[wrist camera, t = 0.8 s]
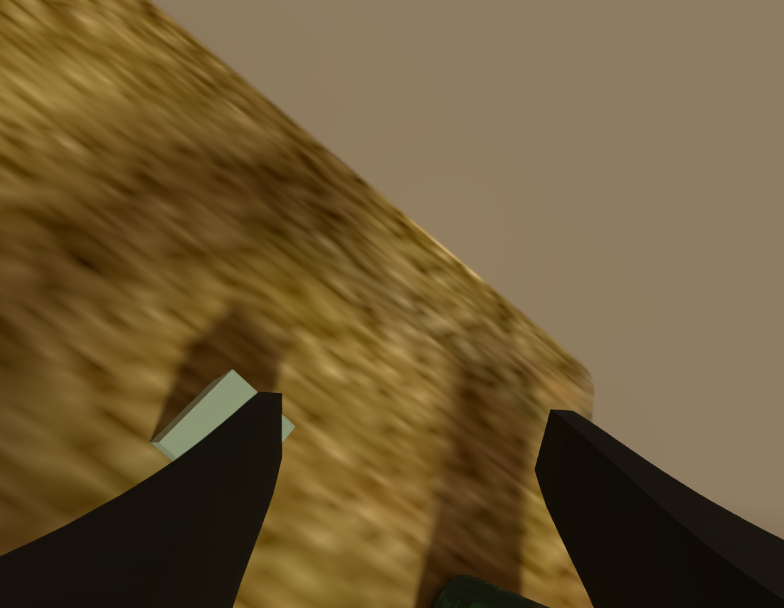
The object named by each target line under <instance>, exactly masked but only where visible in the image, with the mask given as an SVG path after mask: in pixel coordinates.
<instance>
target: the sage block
mask: <svg viewBox="0 0 784 608" xmlns="http://www.w3.org/2000/svg"><path fill="white" fill-rule="evenodd" d="M256 393H258V392H257V391H256V390H255V389H254V388H253V387H252V386H250V385H249V384H248V383H247V382H246V381H245V380H244V379H243V378H242V377H241V376H240V375H238V374H237V373H236V372H235V371H234V370H233V369H232V370H230V371H229V372H227V373H225V374H224V375H222V376H220V377H219V378H217V379H215V380H214V381H212V382H211V383H210V384H209V385H208V386H207V387H206V388H205V389H204V390H203V391H202V392H201V393H200V394H199V395H198V396H197V397H196V398H195V399H194V400H193V401H192V402H190V403H189V404H188V405H187V406H186V407H185V408H184V409H183V410H182V411H181V412H180V413H179V414H178V415H177V416H176V417H175V418H174V419H173V420H172V421H171V422H170V423H169V424H168V425H167V426H166V427H165V428H164V429H163V430H162V431H161V432H160V433H159V434H158V435H157V436H156V437H155V438H154V439H153V440H152V441H151V442H150V443H151V444H152V445H154V446H155V447H156V448H157V449H158V450H160V451H161V452H162V453H163V454H165V455H166V456H167V457H168V458H169V459H171V460H172V461H174V460H175V459H177V458H178V457H179V456H181V455H182V454H183V453H185V452H186V451H187V450H189V449H190V448H191V447H193V446H194V445H195V444H197V443H198V442H199V441H201V440H202V439H203V438H204V437H206V436H207V435H208V434H209V433H210V432H212V431H213V430H214V429H215V428H216V427H218V426H219V425H220V424H221V423H223V422H224V421H225V420H226V419H227V418H228V417H230V416H231V415H232V414H233V413H234V412H235V411H236V410H238V409H239V408H240V407H241V406H242V405H243V404H244V403H246V402H247V401H248V400H249V399H250V398H252V397H253V396H254V395H255V394H256ZM294 427H295V426H294V425H293V424H292V423H291V422H290V421H289V420H288V419H286V418H285V417H284V416H283V415H282V442H283V441H284V440H285V439H286V437H287V436H288V435H289V434H290V432H291V431H292V430H293V429H294Z"/></svg>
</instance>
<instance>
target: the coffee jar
mask: <svg viewBox="0 0 784 608" xmlns="http://www.w3.org/2000/svg"><path fill="white" fill-rule="evenodd" d="M431 608H549V607H547V606H544V605H542V604H539V603H537V602H535V601H532V600H530V599H528V598H525V597H523V596H520V595H518V594H516V593H513V592H511V591H508V590H506V589H504V588H501V587H499V586H497V585H494V584H492V583H489V582H487V581H484V580H482V579H479V578H477V577H474V576H471V575H460V576H457V577H455V578H453V579H452V580H450V581H449V582H448V583H447V584H446V585H445V586H444V587H443V589H442V590H441V592H440V593H439V595H438V596H437V598H436V599H435V601H434V603H433V605H432V607H431Z"/></svg>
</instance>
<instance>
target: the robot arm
mask: <svg viewBox="0 0 784 608" xmlns="http://www.w3.org/2000/svg"><path fill="white" fill-rule="evenodd" d="M281 460H282V393H269V392H258V393H256V394H255V395H254V396H253V397H252V398H250V399H249V400H248V401H247V402H246V403H244V404H243V405H242V406H241V407H240V408H239V409H238V410H236V411H235V412H234V413H233V414H232V415H231V416H230V417H228V418H227V419H226V420H225V421H224V422H223V423H221V424H220V425H219V426H218V427H216V428H215V429H214V430H213V431H212V432H210V433H209V434H208V435H207V436H206V437H204V438H203V439H202V440H201V441H199V442H198V443H197V444H195V445H194V446H193V447H191V448H190V449H189V450H187V451H186V452H185V453H183V454H182V455H181V456H179V457H178V458H177V459H175V460H174V461H173V462H171V463H170V464H168V465H167V466H166V467H164V468H163V469H161V470H160V471H158V472H157V473H155V474H154V475H152V476H151V477H149V478H147V479H146V480H144V481H143V482H141V483H139V484H138V485H136V486H135V487H133V488H131V489H130V490H128V491H127V492H125V493H123V494H122V495H120V496H118V497H116V498H115V499H113V500H111V501H109V502H107V503H105V504H104V505H102V506H100V507H98V508H96V509H95V510H93V511H91V512H89V513H87V514H85V515H84V516H82V517H80V518H78V519H76V520H75V521H73V522H71V523H69V524H67V525H65V526H63V527H61V528H59V529H57V530H55V531H53V532H51V533H49V534H47V535H45V536H43V537H41V538H39V539H37V540H35V541H33V542H30V543H28V544H26V545H24V546H22V547H20V548H17V549H15V550H13V551H11V552H9V553H7V554H5V555H2V556H0V608H233V605H234V602H235V599H236V596H237V593H238V590H239V587H240V584H241V581H242V578H243V575H244V573H245V570H246V567H247V564H248V562H249V559H250V556H251V554H252V551H253V548H254V545H255V543H256V540H257V537H258V535H259V532H260V529H261V527H262V524H263V521H264V518H265V516H266V513H267V510H268V507H269V504H270V502H271V499H272V496H273V493H274V489H275V485H276V481H277V477H278V472H279V468H280V464H281ZM535 473H536V476H537V479H538V483H539V486H540V489H541V492H542V495H543V498H544V501H545V504H546V507H547V509H548V511H549V513H550V515H551V518H552V520H553V522H554V524H555V526H556V528H557V530H558V533H559V535H560V537H561V539H562V541H563V543H564V545H565V547H566V549H567V552H568V554H569V556H570V558H571V560H572V562H573V564H574V566H575V568H576V570H577V572H578V575H579V577H580V579H581V581H582V583H583V585H584V587H585V589H586V591H587V593H588V596H589V598H590V600H591V603H592V605H593V607H594V608H784V540H783V539H781V538H779V537H777V536H775V535H773V534H771V533H769V532H767V531H765V530H763V529H761V528H759V527H757V526H755V525H753V524H752V523H750V522H748V521H746V520H744V519H742V518H741V517H739V516H737V515H735V514H733V513H732V512H730V511H728V510H726V509H725V508H723V507H721V506H719V505H717V504H716V503H714V502H712V501H710V500H709V499H707V498H705V497H703V496H702V495H700V494H698V493H697V492H695V491H693V490H692V489H690V488H689V487H687V486H685V485H684V484H682V483H681V482H679V481H678V480H676V479H674V478H673V477H671V476H670V475H668V474H667V473H665V472H663V471H662V470H660V469H659V468H657V467H656V466H654V465H653V464H651V463H650V462H648V461H647V460H645V459H644V458H642V457H641V456H640V455H638V454H637V453H635V452H634V451H632V450H631V449H629V448H628V447H626V446H625V445H623V444H622V443H621V442H619V441H618V440H616V439H615V438H613V437H612V436H611V435H609V434H608V433H606V432H605V431H603V430H602V429H600V428H599V427H598V426H596V425H595V424H593V423H592V422H590V421H589V420H587V419H585V418H584V417H582V416H581V415H579V414H577V413H576V412H574V411H569V410H552V409H551V410H550V413H549V417H548V421H547V425H546V428H545V432H544V436H543V440H542V443H541V447H540V451H539V455H538V458H537V462H536V466H535Z"/></svg>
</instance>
